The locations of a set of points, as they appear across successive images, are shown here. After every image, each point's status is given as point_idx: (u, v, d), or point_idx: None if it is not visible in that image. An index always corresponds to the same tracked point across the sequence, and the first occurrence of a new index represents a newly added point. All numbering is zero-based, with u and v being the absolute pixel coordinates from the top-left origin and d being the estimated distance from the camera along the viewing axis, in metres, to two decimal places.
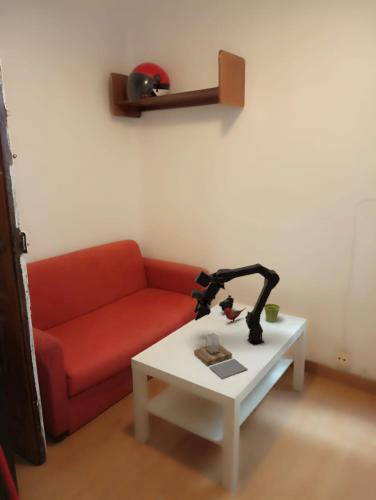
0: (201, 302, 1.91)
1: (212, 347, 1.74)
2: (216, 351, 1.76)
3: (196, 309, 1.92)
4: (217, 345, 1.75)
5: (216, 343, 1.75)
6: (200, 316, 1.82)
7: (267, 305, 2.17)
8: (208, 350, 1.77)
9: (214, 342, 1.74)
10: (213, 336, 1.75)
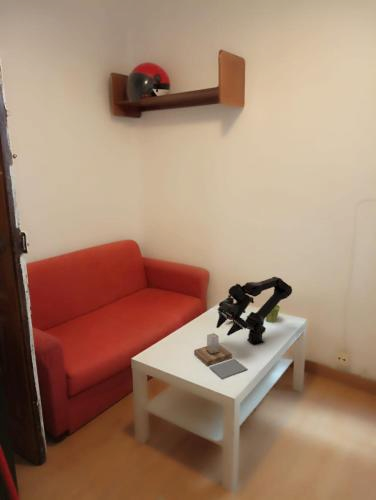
0: (224, 316, 1.83)
1: (212, 347, 1.74)
2: (216, 351, 1.76)
3: (219, 324, 1.82)
4: (217, 345, 1.75)
5: (216, 343, 1.75)
6: (234, 331, 1.74)
7: None
8: (208, 350, 1.77)
9: (214, 342, 1.74)
10: (213, 336, 1.75)
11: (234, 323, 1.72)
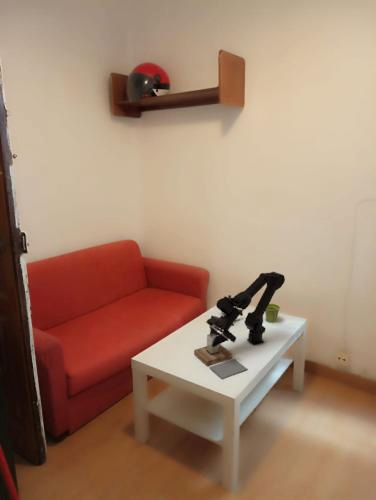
0: (215, 331, 1.79)
1: (212, 347, 1.74)
2: (216, 351, 1.76)
3: None
4: (217, 345, 1.75)
5: None
6: (219, 342, 1.74)
7: None
8: (208, 350, 1.77)
9: None
10: (213, 336, 1.74)
11: (219, 335, 1.72)
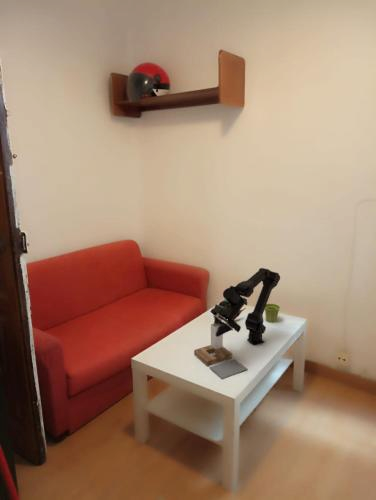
0: (219, 321, 1.74)
1: (215, 337, 1.69)
2: (220, 341, 1.71)
3: None
4: (221, 335, 1.70)
5: None
6: (223, 332, 1.69)
7: (267, 305, 2.17)
8: (212, 340, 1.72)
9: None
10: (217, 325, 1.70)
11: (223, 324, 1.67)
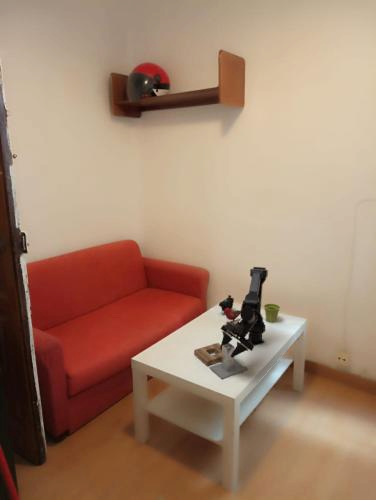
0: (228, 337, 1.69)
1: (227, 359, 1.63)
2: (232, 362, 1.65)
3: None
4: None
5: None
6: (238, 352, 1.61)
7: (267, 305, 2.17)
8: (223, 361, 1.66)
9: (230, 353, 1.63)
10: (229, 347, 1.63)
11: (238, 344, 1.59)
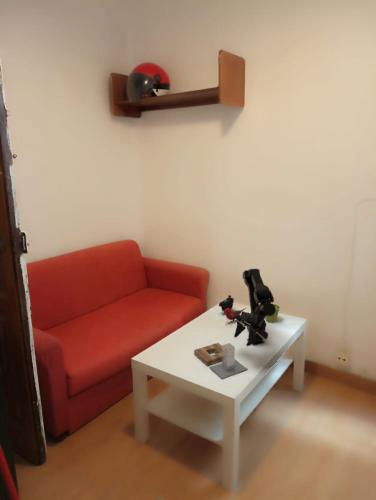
0: (242, 326, 1.75)
1: (227, 359, 1.63)
2: (232, 362, 1.65)
3: (237, 333, 1.73)
4: (233, 356, 1.64)
5: (232, 354, 1.64)
6: (253, 341, 1.66)
7: None
8: (223, 361, 1.66)
9: (230, 353, 1.63)
10: (229, 347, 1.63)
11: (254, 333, 1.64)
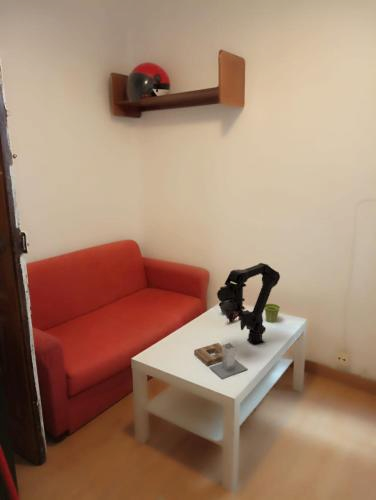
0: None
1: (227, 359, 1.63)
2: (232, 362, 1.65)
3: (230, 319, 1.83)
4: (233, 356, 1.64)
5: (232, 354, 1.64)
6: (245, 323, 1.75)
7: (267, 305, 2.17)
8: (223, 361, 1.66)
9: (230, 353, 1.63)
10: (229, 347, 1.63)
11: (240, 320, 1.72)
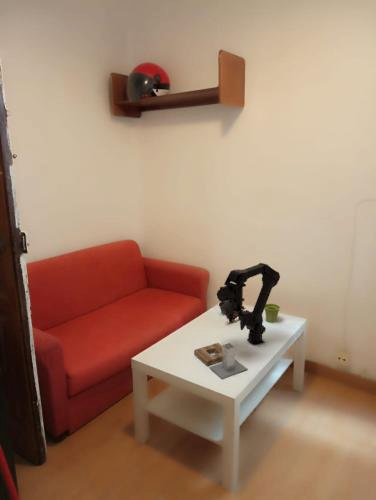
0: None
1: (227, 359, 1.63)
2: (232, 362, 1.65)
3: (230, 319, 1.83)
4: (233, 356, 1.64)
5: (232, 354, 1.64)
6: (244, 323, 1.75)
7: (267, 305, 2.17)
8: (223, 361, 1.66)
9: (230, 353, 1.63)
10: (229, 347, 1.63)
11: (240, 320, 1.72)
